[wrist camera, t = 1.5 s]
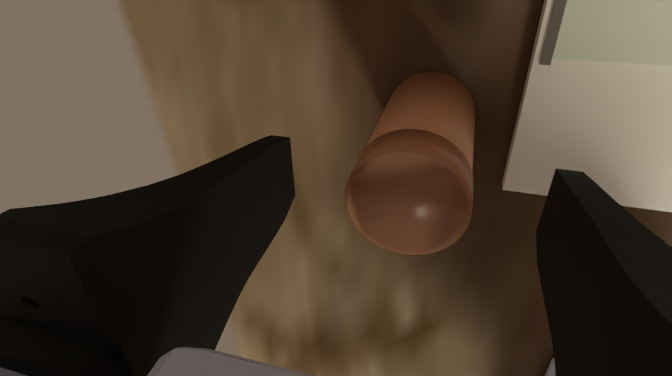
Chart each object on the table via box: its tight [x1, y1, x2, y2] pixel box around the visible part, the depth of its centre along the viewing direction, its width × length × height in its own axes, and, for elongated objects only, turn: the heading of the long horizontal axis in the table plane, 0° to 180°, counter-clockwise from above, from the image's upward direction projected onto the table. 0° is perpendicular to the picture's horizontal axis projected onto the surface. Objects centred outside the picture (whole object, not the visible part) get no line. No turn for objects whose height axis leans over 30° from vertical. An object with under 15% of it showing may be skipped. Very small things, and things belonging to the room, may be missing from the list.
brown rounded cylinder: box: [345, 72, 475, 255], centre depth 13 cm, size 3×3×6 cm
